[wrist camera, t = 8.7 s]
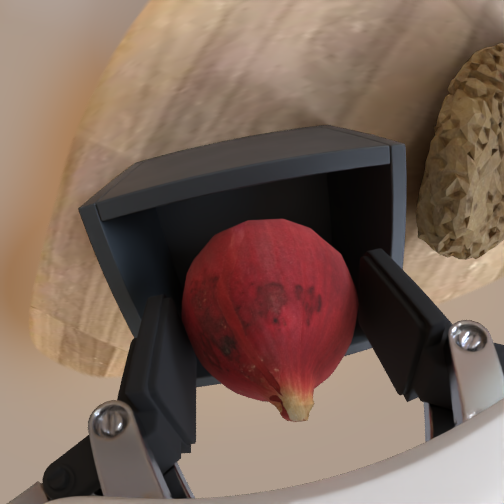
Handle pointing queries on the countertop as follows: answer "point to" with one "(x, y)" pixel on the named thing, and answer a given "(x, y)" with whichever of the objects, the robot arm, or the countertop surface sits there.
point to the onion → (270, 312)
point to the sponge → (467, 163)
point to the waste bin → (246, 208)
